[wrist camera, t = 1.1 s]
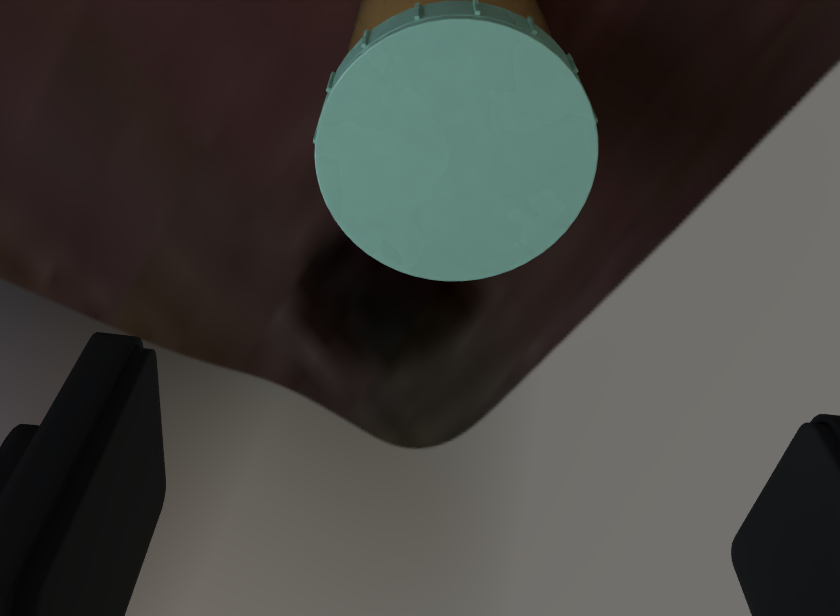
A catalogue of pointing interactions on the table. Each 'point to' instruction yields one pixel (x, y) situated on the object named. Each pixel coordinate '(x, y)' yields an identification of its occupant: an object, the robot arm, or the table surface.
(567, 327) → the table surface
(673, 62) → the table surface
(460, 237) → the lid
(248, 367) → the table surface
